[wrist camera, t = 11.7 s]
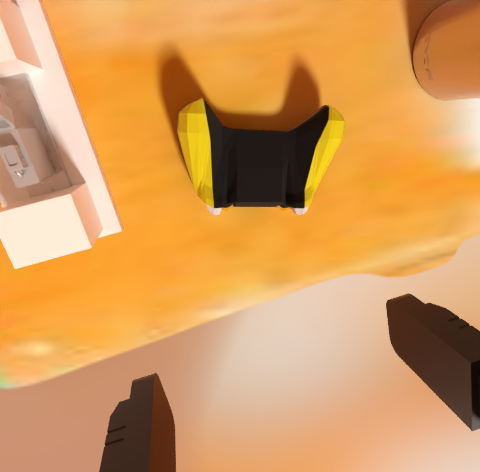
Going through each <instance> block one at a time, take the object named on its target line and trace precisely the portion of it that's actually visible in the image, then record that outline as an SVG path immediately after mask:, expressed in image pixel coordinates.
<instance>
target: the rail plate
mask: <svg viewBox="0 0 480 472" xmlns="http://www.w3.org/2000/svg"><path fill="white" fill-rule="evenodd" d="M10 1H11V2H13V3H14V4H15V5H17V6H18V7H19V8H20V9H21V11H22V14H23V17H24V19H25V22H26V25H27V27H28V30H29V32H30V35H31V38H32V40H33V43H34V46H35V48H36V51H37V54H38V56H39V59H40V61H41V64H42V67H43V69H44V70H42V71H37V72H33V73H28V74H29V77H30V79H31V82H32V84H33V87H34V90H35V92H36V95H37V97H38V100H39V102H40V105H41V107H42V110H43V112H44V115H45V117H46V120H47V123H48V125H49V128H50V130H51V133H52V135H53V138H54V140H55V143H56V145H57V148H58V151H59V153H60V156H61V158H62V161H63V163H64V166H65V168H66V171H67V173H68V176H69V178H70V181H71V184H72V186H74V185H78V184H81V183H85V182H86V183H87V185H88V188H89V191H90V193H91V196H92V199H93V201H94V204H95V207H96V209H97V212H98V214H99V217H100V220H101V222H102V225H103V228H104V229H103V230H102V232H101V234H100V235H99V237H98V238H100V237H103V236H107V235H110V234H114V233H118V232H121V231H122V230H123V225H122V222H121V219H120V217H119V214H118V211H117V208H116V205H115V203H114V200H113V197H112V194H111V191H110V189H109V186H108V183H107V180H106V178H105V175H104V172H103V169H102V166H101V164H100V161H99V158H98V155H97V153H96V150H95V147H94V144H93V141H92V139H91V136H90V133H89V130H88V128H87V125H86V122H85V119H84V116H83V114H82V111H81V108H80V105H79V102H78V100H77V97H76V94H75V91H74V89H73V86H72V83H71V80H70V77H69V75H68V72H67V69H66V66H65V64H64V61H63V58H62V55H61V52H60V50H59V47H58V44H57V41H56V39H55V36H54V33H53V30H52V27H51V25H50V22H49V19H48V16H47V14H46V11H45V8H44V5H43V2H42V0H10ZM27 197H30V196H29V194H28V192H27V189H26V187H21V188H18V187H16V186H15V184H14V181H13V179H12V177H11V175H10V172H8V170H7V168H6V166H5V164H4V162H3V159H2V157H1V155H0V202H1V205H2V207H3V208H4V207H6V206H8V205H9V204H11V203H13V202H15V201H17V200H20V199H24V198H27Z"/></svg>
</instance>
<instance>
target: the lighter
mask: <svg viewBox="0 0 480 472" xmlns="http://www.w3.org/2000/svg"><path fill="white" fill-rule="evenodd" d="M0 155H1V157H2V159H3V162H4V164H5V166H6V168H7V170H8V172H10V175H11V177H12V179H13V181H14V184H15V186H16V187H18V188H21V187H25V186H28V185H32V184H36V183H39V182H41V181H43V180H45V179H48V178H50V177H52V176H54V175H55V170H54V168H53V165H52V163H51V161H50V158H49V156H48V153H47V151H46V148H45V146H44V143H43V141H42V138H41V136H40V133H39V131H38V129H37V128H35V127H22V128H15V123H14V119H13V115H12V110H11V109H10V108H9V107H8V106H6V105H5V104H4V103H3V102H2V101H1V100H0Z"/></svg>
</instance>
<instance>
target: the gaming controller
mask: <svg viewBox="0 0 480 472" xmlns="http://www.w3.org/2000/svg"><path fill="white" fill-rule="evenodd" d="M344 126H345V120H344V118H343V116H342V115H341V114H340V112H339V111H337V110H336V109H334V108H332V107H330V106H329V105H324V106H322V107H321V108H319V109H318V110H317V111H315V112H314V113H313V114H312V115H310V116H309V117H308V118H306V119H305V120H304V121H302V122H301V123H299V124H298V125H296V126H295V127H294V128H292V129H289V130H287V131H266V130H243V129H228V128H227V127H225V126H223V125H222V124H221V122H220V121H219V119H218V118H217V117H216V115H215V114H214V112H213V111H212V110H211V108H210V107H209V105H208V104H207V103H206V101H205V100H204V99H203V98H200V99H197V100H194V101H192V102H190V103H189V104H187V105H185V106H184V107H183V108H182V109H181V110H180V111H179V112H178V114H177V134H178V138H179V142H180V145H181V149H182V153H183V157H184V160H185V164H186V167H187V170H188V172H189V175H190V178H191V180H192V183H193V186H194V189H195V191H196V192H197V194H198V196H199V197H200V198H201V199H202V200H203V201H204V202H205V203H206V205H207V208H208V211H209V212H210V213H212V214H213V215H219V214H220V212H221V209H223V210H228V209H230V208H231V207H233V206H234V207H278V208H280V209H281V210H287V209H290V208H291V209H292V210H293V211H294V212H295V213H296V214H297V215H303V214H304V213H305V212H306V211H307V209H308V206H309V205H310V204H311V202H312V201H313V194H314V192H315V190H316V188H317V186H318V184H319V182H320V180H321V178H322V176H323V174H324V173H325V171H326V169H327V167H328V165H329V163H330V161H331V159H332V157H333V156H334V154H335V152H336V150H337V148H338V146H339V145H340V143H341V141H342V139H343V132H344Z"/></svg>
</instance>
